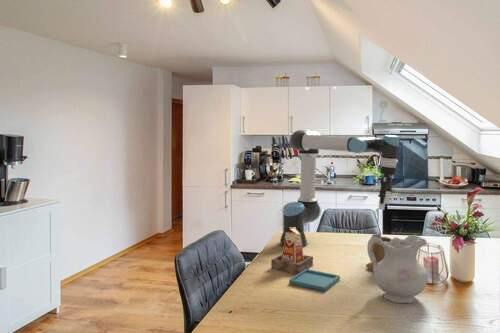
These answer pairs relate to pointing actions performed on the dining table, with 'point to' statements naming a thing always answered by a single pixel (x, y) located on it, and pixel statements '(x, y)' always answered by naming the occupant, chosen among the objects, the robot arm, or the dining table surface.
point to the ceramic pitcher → (399, 268)
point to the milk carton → (292, 247)
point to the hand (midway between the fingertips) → (384, 206)
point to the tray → (314, 280)
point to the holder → (291, 264)
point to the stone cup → (378, 252)
